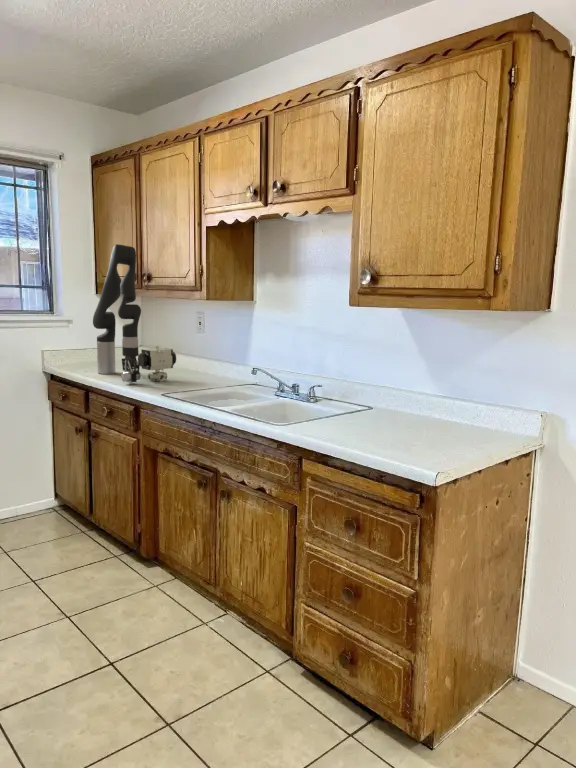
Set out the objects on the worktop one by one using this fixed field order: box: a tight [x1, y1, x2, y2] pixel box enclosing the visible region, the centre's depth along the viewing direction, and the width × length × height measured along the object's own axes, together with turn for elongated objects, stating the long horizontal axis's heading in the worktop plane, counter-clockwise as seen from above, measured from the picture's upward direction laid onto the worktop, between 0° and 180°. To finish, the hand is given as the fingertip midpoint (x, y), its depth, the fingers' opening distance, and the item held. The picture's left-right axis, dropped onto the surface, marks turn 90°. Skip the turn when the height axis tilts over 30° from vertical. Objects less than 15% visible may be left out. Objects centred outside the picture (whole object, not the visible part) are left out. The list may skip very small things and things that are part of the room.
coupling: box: [120, 370, 142, 384], centre depth 278 cm, size 5×8×5 cm
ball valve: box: [137, 345, 177, 383], centre depth 287 cm, size 18×8×18 cm, turn 132°
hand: (131, 380), depth 278 cm, fingers closed on coupling, 5 cm apart
